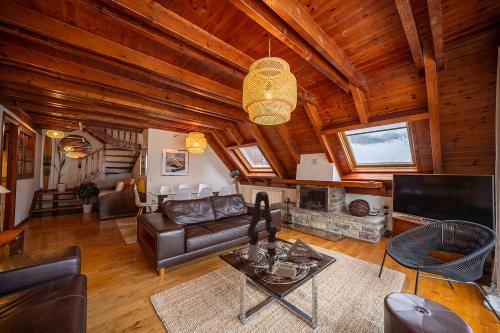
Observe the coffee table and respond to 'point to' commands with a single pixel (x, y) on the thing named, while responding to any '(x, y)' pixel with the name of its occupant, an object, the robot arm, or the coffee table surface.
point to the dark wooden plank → (271, 263)
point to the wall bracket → (309, 250)
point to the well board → (284, 270)
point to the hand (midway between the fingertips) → (271, 264)
